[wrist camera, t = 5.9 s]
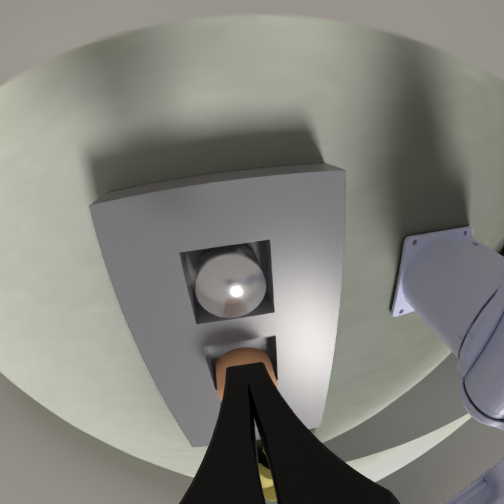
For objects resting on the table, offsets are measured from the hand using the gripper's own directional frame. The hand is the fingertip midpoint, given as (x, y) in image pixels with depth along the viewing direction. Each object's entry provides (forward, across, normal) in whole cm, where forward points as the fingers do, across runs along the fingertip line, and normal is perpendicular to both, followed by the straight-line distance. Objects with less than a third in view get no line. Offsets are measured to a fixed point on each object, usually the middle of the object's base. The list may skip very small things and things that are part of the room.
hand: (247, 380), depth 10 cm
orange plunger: (+7, 0, +7) cm, 10 cm away
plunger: (+9, 0, 0) cm, 9 cm away
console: (+10, 0, +7) cm, 12 cm away
